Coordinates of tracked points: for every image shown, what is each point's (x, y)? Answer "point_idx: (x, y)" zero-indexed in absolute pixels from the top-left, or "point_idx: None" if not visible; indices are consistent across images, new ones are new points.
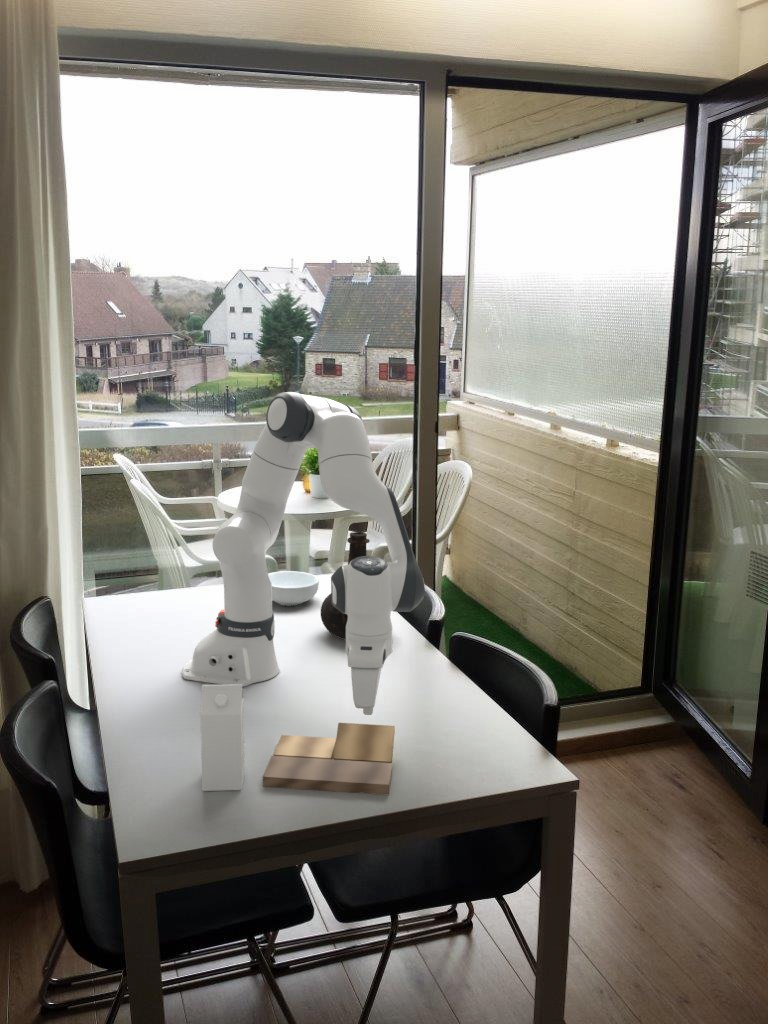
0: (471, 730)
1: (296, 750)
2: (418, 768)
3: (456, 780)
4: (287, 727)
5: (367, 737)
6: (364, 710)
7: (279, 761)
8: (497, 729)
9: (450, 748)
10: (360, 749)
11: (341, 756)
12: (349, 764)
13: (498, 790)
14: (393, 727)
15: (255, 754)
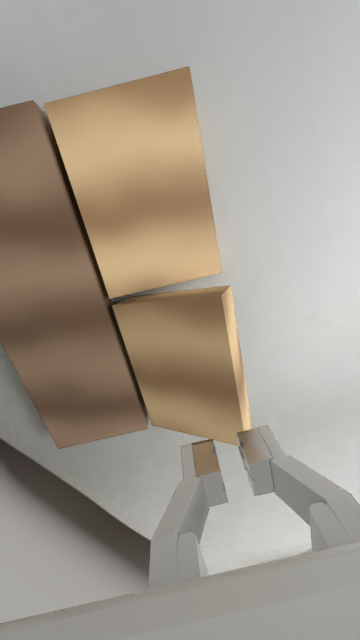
0: (349, 475)
1: (106, 179)
2: (184, 444)
3: (166, 498)
4: (308, 56)
5: (192, 383)
6: (182, 463)
7: (13, 150)
8: None
9: None
10: (155, 367)
11: (123, 324)
12: (99, 353)
13: None
14: None
15: (90, 17)
